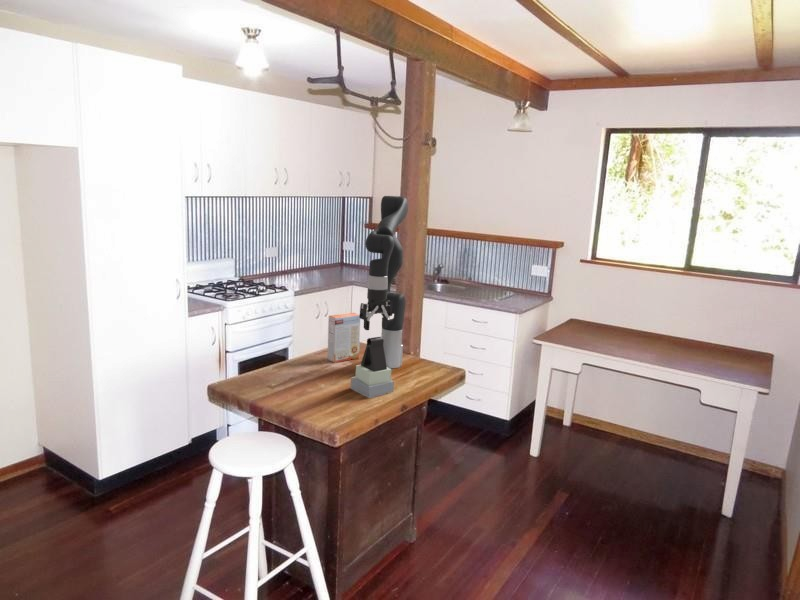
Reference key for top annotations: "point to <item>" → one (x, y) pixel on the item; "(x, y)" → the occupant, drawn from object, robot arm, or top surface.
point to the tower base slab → (371, 388)
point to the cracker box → (343, 337)
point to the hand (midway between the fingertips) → (375, 328)
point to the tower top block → (373, 375)
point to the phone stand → (374, 355)
